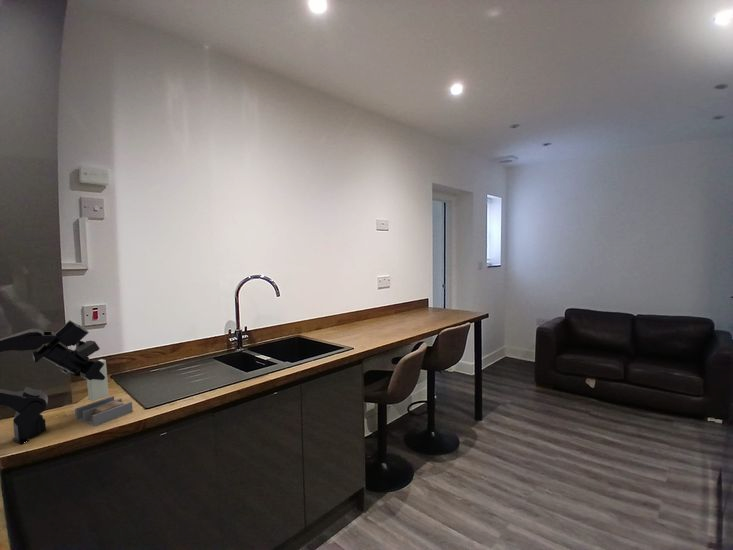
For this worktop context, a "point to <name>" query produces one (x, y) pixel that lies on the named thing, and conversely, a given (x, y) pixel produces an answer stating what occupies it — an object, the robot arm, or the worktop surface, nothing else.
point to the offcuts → (106, 408)
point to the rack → (105, 416)
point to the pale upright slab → (98, 385)
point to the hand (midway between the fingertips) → (101, 377)
